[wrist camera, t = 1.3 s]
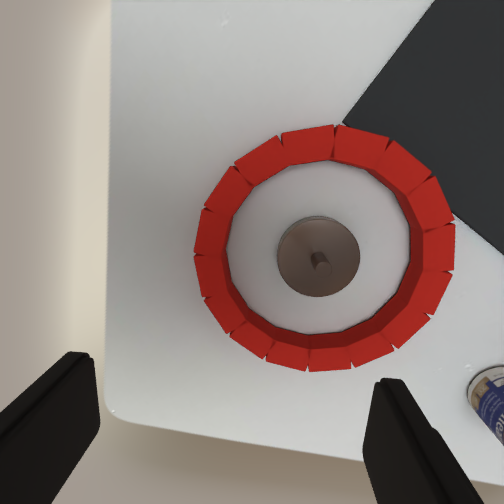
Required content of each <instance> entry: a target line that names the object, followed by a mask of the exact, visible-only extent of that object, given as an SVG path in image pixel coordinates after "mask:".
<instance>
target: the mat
mask: <svg viewBox="0 0 504 504" xmlns="http://www.w3.org/2000/svg"><path fill="white" fill-rule="evenodd" d="M342 122H343V123H344V124H345V125H347V126H348V127H350V128H354V129H358V130H362V131H366V132H370V133H374V134H378V135H382V136H385V137H389V140H388V141H393V140H394V141H396V142H397V143H398V144H399V145H400V146H402V147H403V148H404V149H405V150H406V151H408V152H409V153H410V154H411V155H412V156H414V157H415V158H416V159H417V160H418V161H420V162H421V163H422V164H423V165H424V166H426V167H427V168H428V169H429V170H430V171H431V172H432V173H431V174H430V175H429V176H436V178H437V181H438V183H439V185H440V187H441V190H442V192H443V194H444V196H445V199H446V201H447V203H448V205H449V208H450V210H451V212H452V213H454V214H455V215H456V216H457V217H458V218H460V219H461V220H462V221H463V222H465V223H466V224H467V225H468V226H469V227H471V228H472V229H473V230H474V231H475V232H477V233H478V234H479V235H480V236H482V237H483V238H484V239H485V240H486V241H488V242H489V243H490V244H491V245H493V246H494V247H495V248H496V249H497V250H499V251H500V252H501V253H502V254H503V255H504V0H435V1H434V2H433V4H432V5H431V6H430V8H429V9H428V10H427V11H426V13H425V14H424V15H423V17H422V18H421V19H420V21H419V22H418V23H417V25H416V26H415V27H414V28H413V30H412V31H411V32H410V34H409V35H408V36H407V38H406V39H405V40H404V42H403V43H402V44H401V45H400V47H399V48H398V49H397V51H396V52H395V53H394V55H393V56H392V57H391V58H390V60H389V61H388V62H387V64H386V65H385V66H384V68H383V69H382V70H381V72H380V73H379V74H378V75H377V77H376V78H375V79H374V81H373V82H372V83H371V85H370V86H369V87H368V89H367V90H366V91H365V92H364V94H363V95H362V96H361V98H360V99H359V100H358V102H357V103H356V104H355V106H354V107H353V108H352V109H351V111H350V112H349V113H348V115H347V116H346V117H345V119H344V120H343V121H342Z"/></svg>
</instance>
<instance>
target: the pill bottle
mask: <svg viewBox="0 0 504 504" xmlns="http://www.w3.org/2000/svg"><path fill="white" fill-rule="evenodd" d="M468 400H469V403H470V405H471V406H472V408H473V409H474V410H475V412H476V413H477V414H478V415H479V417H480V418H481V419H482V420H483V422H484V423H485V424H486V425H487V426H488V427H489V429H490V430H491V431H492V432H493V433H494V435H495V436H496V437H497V438H498V440H499V441H500V442H501V443H502V444H503V446H504V367H497V368H492V369H489V370H487V371H484V372H483V373H481V374H479V375H478V376H477V377H476V378H475V379H474V380H473V382H472V383H471V385H470V387H469V390H468Z"/></svg>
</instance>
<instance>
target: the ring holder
mask: <svg viewBox="0 0 504 504" xmlns="http://www.w3.org/2000/svg"><path fill="white" fill-rule="evenodd" d="M277 257H278V267H279V271H280V273H281V276H282V277H283V279H284V281H285V282H286V283H287V284H288V285H289V286H290V287H291V288H292V289H294V290H295V291H297V292H299V293H301V294H303V295H307V296H312V297H323V296H328V295H332V294H334V293H336V292H338V291H340V290H342V289H343V288H344V287H346V286H347V285H348V284H349V283H350V282H351V280H352V279H353V278H354V276H355V274H356V272H357V270H358V267H359V262H360V250H359V246H358V243H357V241H356V239H355V237H354V236H353V234H352V233H351V232H350V231H349V230H348V229H347V228H346V227H345V226H343V225H342V224H341V223H339V222H338V221H336V220H334V219H331V218H328V217H322V216H314V217H308V218H305V219H302V220H300V221H298V222H296V223H295V224H293V225H292V226H291V227H290V228H289V229H288V230H287V231H286V232H285V233H284V235H283V236H282V238H281V240H280V243H279V246H278V253H277Z"/></svg>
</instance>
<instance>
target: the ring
mask: <svg viewBox="0 0 504 504" xmlns="http://www.w3.org/2000/svg"><path fill="white" fill-rule="evenodd" d="M388 140H389V137H385V136H382V135H378V134H374V133H370V132H366V131H362V130H358V129H354V128H350V127H347V126H343V125H338V126H336V127H334V125H326V126H320V127H314V128H309V129H303V130H297V131H291V132H285V133H282V134H281V141H282V143H281V141H280V140H279V138H278V136H277V135H276V136H274V137H273V138H271V139H270V140H268V141H266V142H265V143H263V144H262V145H260V146H259V147H257V148H256V149H254V150H252V151H251V152H249V153H248V154H246V155H245V156H243V157H241V158H240V159H238V160H237V161H235V162H234V164H235V165H236V166H230V167H229V169H228V170H227V172H226V173H225V174H224V176H223V177H222V179H221V180H220V182H219V183H218V185H217V186H216V188H215V189H214V191H213V192H212V193H211V195H210V196H209V198H208V199H207V201H206V202H205V204H204V206H205V208H204V209H202V211H201V216H200V221H199V226H198V232H197V237H196V242H195V247H194V253H196V255H195V256H194V262H195V266H196V271H197V276H198V281H199V285H200V290H201V295H202V297H206V298H205V300H204V302H205V303H206V305H207V306H208V308H209V309H210V311H211V312H212V314H213V315H214V317H215V318H216V320H217V321H218V323H219V324H220V325H221V327H222V328H223V330H224V331H225V333H226V334H227V333H229V332H230V336H229V337H230V338H232V339H233V340H235V341H236V342H238V343H239V344H240V345H242V346H243V347H245V348H246V349H248V350H249V351H251V352H252V353H254V354H255V355H256V356H258V357H259V358H261V359H263V358H264V357H265V356H266V361H267V362H270V363H274V364H278V365H282V366H285V367H289V368H293V369H297V370H301V371H304V372H305V371H306V368H307V366H308V368H309V372H317V371H330V370H344V369H351V362H352V364H353V365H354V367H355V368H356V367H358V366H361V365H363V364H365V363H368V362H370V361H372V360H375V359H377V358H379V357H382V356H384V355H386V354H389V353H391V352H393V351H394V348H393V347H392V345H394V346H395V347H396V348H398V349H399V348H400V347H401V346H402V345H403V344H404V343H405V342H406V341H407V340H409V339H410V338H411V337H412V336H413V335H414V334H415V333H416V332H417V331H418V330H419V329H420V328H421V327H423V326H424V325H425V324H426V323H427V322H428V321H429V320H430V319H431V318H430V317H429V316H428V315H427V314H431V315H434V313H435V311H436V309H437V307H438V305H439V302H440V300H441V298H442V296H443V294H444V292H445V290H446V288H447V286H448V284H449V282H450V280H451V278H452V274H451V273H449V272H448V271H451V270H454V252H455V224H453V223H450V222H451V221H453V220H455V219H454V217H453V215H452V212H451V210H450V208H449V205H448V203H447V201H446V199H445V196H444V194H443V192H442V190H441V187H440V185H439V183H438V181H437V178H436V176H429V175H430V174H431V173H432V172H431V171H430V170H429V169H428V168H427V167H426V166H424V165H423V164H422V163H421V162H420V161H418V160H417V159H416V158H415V157H414V156H412V155H411V154H410V153H409V152H408V151H406V150H405V149H404V148H403V147H402V146H400V145H399V144H398V143H397V142H396V141H394V140H393V141H388ZM323 160H331V161H335V162H339V163H343V164H346V165H350V166H354V167H358V168H362V169H365V170H367V171H368V172H369V173H370V174H372V175H373V176H374V177H375V178H377V179H378V180H379V181H380V182H382V183H383V184H384V185H385V186H386V187H388V188H389V189H390V190H391V191H393V192H394V193H395V195H396V197H397V199H398V201H399V203H400V206H401V208H402V210H403V212H404V214H405V216H406V218H407V220H408V222H409V224H410V228H411V262H410V264H409V266H408V269H407V271H406V273H405V276H404V278H403V280H402V283H401V285H400V287H399V290H398V292H397V294H396V295H395V296H394V297H393V298H392V299H391V300H390V301H389V302H388V303H387V304H386V305H385V306H384V307H383V308H382V309H381V310H380V311H379V312H378V313H377V314H376V315H375V316H374V317H373V318H372V319H370V320H367V321H365V322H363V323H361V324H359V325H357V326H354V327H352V328H350V329H348V330H346V331H343V332H341V333H329V334H318V335H304V334H300V333H296V332H292V331H289V330H285V329H281V328H277V327H274V326H273V325H272V324H270V323H269V322H267V321H266V320H264V319H263V318H262V317H260V316H259V315H257V314H256V313H255V312H253V311H252V310H250V309H249V308H248V306H247V305H246V303H245V301H244V300H243V298H242V297H241V295H240V294H239V292H238V291H237V289H236V288H235V286H234V285H233V283H232V281H231V275H230V270H229V264H228V259H227V253H226V246H227V242H228V237H229V233H230V229H231V224H232V220H233V216H234V214H235V213H236V211H237V210H238V209H239V207H240V206H241V205H242V203H243V202H244V200H245V199H246V198H247V196H248V195H249V193H250V192H251V191H252V189H253V188H254V187H255V186H257V185H258V184H260V183H262V182H263V181H265V180H267V179H268V178H270V177H271V176H273V175H275V174H276V173H278V172H280V171H281V170H283V169H285V168H286V167H288V166H291V165H297V164H304V163H310V162H316V161H323ZM426 313H427V314H426ZM391 344H392V345H391Z"/></svg>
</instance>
